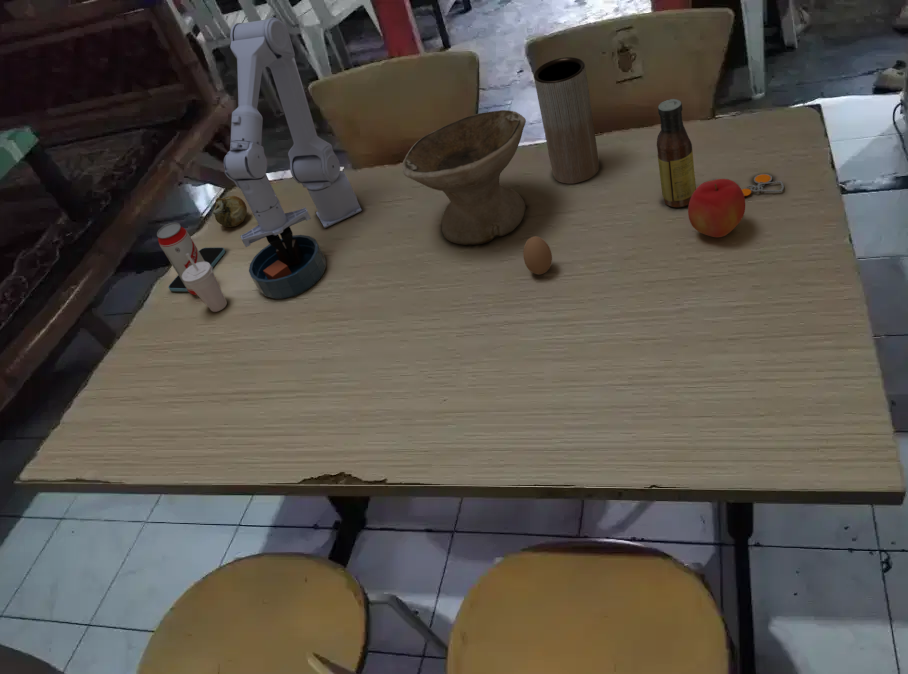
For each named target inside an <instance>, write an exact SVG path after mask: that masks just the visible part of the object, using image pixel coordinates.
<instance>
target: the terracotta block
mask: <svg viewBox="0 0 908 674" xmlns="http://www.w3.org/2000/svg"><path fill="white" fill-rule="evenodd" d="M263 271H264V273H265V275H266V277H267V278H268V280H272V279H278V278H282V277H285V276H288V275H290V274H292V273H291V271H290V269H289V267H288V266H287V265H286V264H284V263H282V262H281V261H279V260H277V261H276V262H274V263H273V264H271V265H270V266H269V267H267V268H266V269H264V270H263Z"/></svg>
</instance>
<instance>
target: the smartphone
mask: <svg viewBox="0 0 908 674" xmlns="http://www.w3.org/2000/svg"><path fill="white" fill-rule="evenodd" d="M198 251H199V252H200V254H201V256H202V258H203V259H204V261H205V262H208V263H209V264H210V265H211V266H212V268H213V269H214V267H215V265H216V264H217V263H218V262H219V261H220V259H221V258H222V256H224V255H225V254H226V249H225V248H224V247H203V248H201V249H198ZM167 288H168V289H169V291H170V292H189V291H188V290H187V288H186V287H185V285H184V283H183V282H182V280H181V279H180V277H179V275H178V274H177V275H176V277H175V278H174V279H173V280H172V281H171V283H170V284H169V285H168V287H167Z"/></svg>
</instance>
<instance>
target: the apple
mask: <svg viewBox="0 0 908 674" xmlns="http://www.w3.org/2000/svg"><path fill="white" fill-rule="evenodd" d="M715 179H716V180H713V179H711V180H708V181H704V182H702V183H700V184H699V185H698V186H697V187H696V190H695V191H694V193H693V194H692V196H691V199H690V202H689V205H687V206H688V207H687V215H688V220H689V223H690V225H691V226H692V227H693V229H694V230H696V231H697V232H699V233H700V234H702V235H705V236H708V237H711V238H723V237H725V236H727V235H728V234H730V233H731V232H732V231H733V230H734V229H735V228H737V226H738V225H739V224H740V223H741V221H742V220H743V218H744V216H745V212H746V199H745V196H744V195H743V192H742V190H741V189H742V188H741V187H740V186H739V184H737V182H735V181H733V180H731V179H728V178H715Z"/></svg>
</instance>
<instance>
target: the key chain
mask: <svg viewBox="0 0 908 674" xmlns="http://www.w3.org/2000/svg"><path fill="white" fill-rule="evenodd" d="M716 179H717V178H713V179H712V180H716ZM772 180H773V176H772V175H771V174H769V173H760V174H757V175H755V176H754V177H753V182H754V183H755V184H756V185H754V184H749V185H747V186H746V187H745V188H741V190H742V192H743V195H744V197H748V196H750V195H751V194H752V193H755V192H756V193H757V192H766V193H781V192H783V191H784V189H785V185H784V183H783V181H781V180H776V181H772ZM774 183H776V184H780V186H781V187H780V189H764V186H766V185H769V184H774Z"/></svg>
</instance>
